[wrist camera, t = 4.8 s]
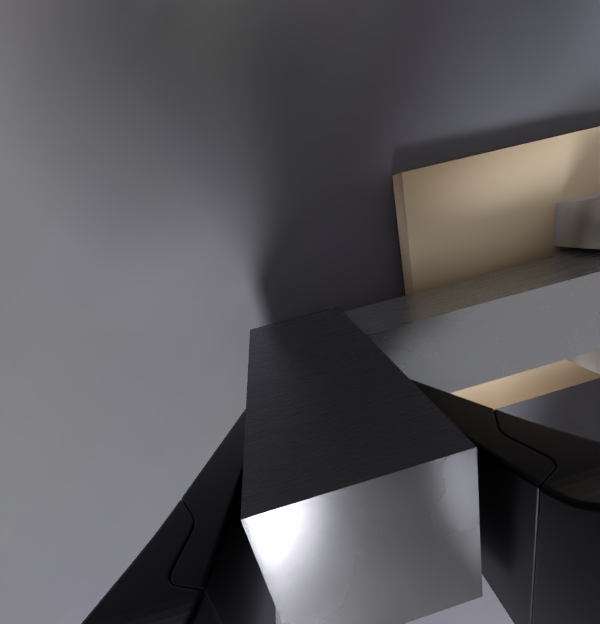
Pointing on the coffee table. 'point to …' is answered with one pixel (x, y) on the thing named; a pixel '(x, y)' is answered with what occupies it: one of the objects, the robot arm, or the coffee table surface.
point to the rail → (503, 232)
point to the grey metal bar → (391, 437)
